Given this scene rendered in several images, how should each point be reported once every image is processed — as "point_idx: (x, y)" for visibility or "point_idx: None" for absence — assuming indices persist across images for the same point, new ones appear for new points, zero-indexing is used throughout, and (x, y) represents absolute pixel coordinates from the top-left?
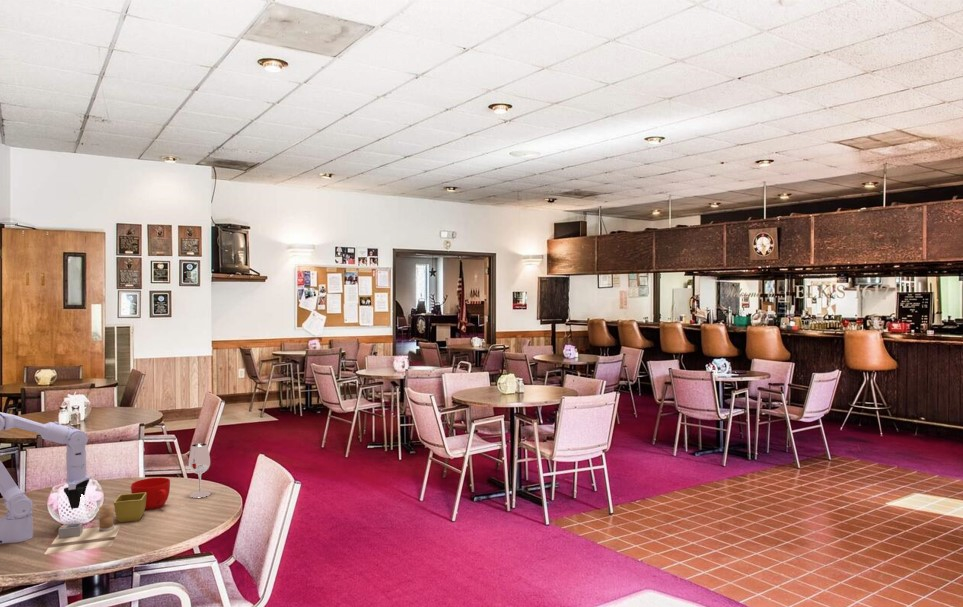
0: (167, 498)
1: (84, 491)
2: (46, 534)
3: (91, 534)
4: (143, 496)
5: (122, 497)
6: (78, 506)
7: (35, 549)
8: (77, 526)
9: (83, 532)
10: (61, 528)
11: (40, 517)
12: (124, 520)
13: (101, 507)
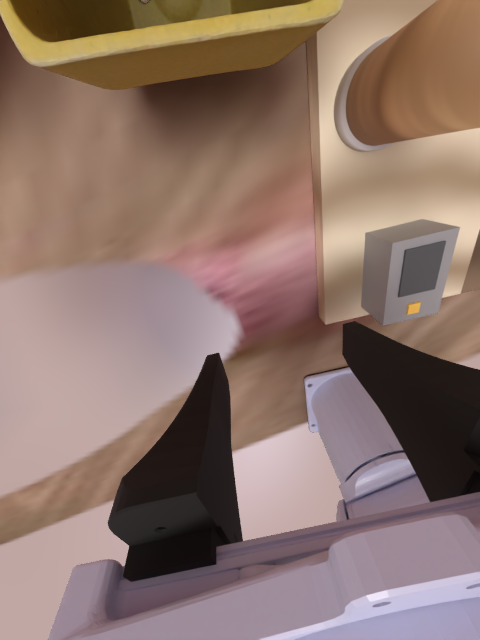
0: None
1: (211, 399)
2: (287, 363)
3: (426, 166)
4: None
5: (39, 31)
6: (360, 324)
7: (420, 331)
8: (443, 243)
9: (376, 224)
10: (431, 306)
11: (127, 442)
12: (255, 3)
13: None
